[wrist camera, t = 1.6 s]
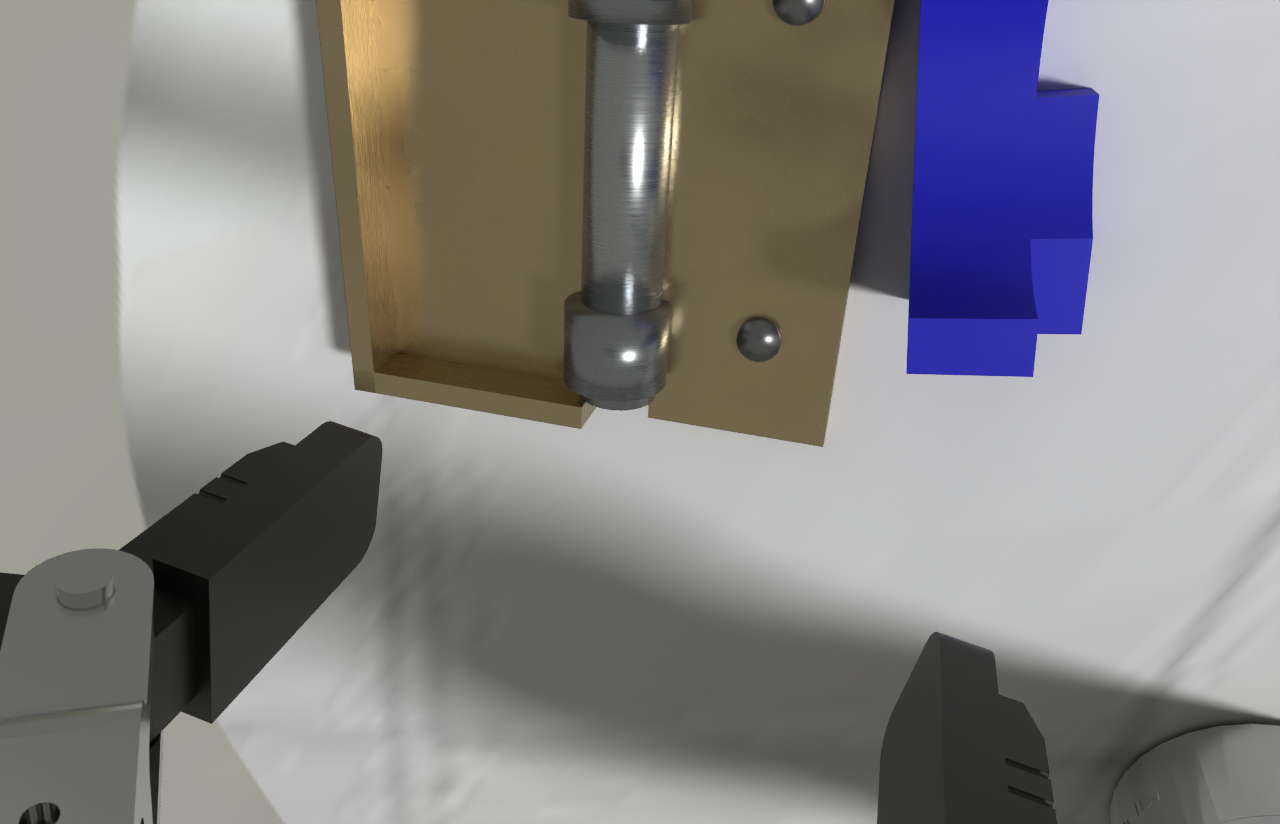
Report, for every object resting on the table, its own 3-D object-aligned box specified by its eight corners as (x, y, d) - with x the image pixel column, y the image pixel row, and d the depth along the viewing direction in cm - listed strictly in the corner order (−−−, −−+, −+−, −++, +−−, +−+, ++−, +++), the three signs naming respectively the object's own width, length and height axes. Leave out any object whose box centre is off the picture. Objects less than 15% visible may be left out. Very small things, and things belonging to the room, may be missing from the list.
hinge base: (918, -148, 24) (918, -162, 21) (825, 436, 32) (815, 486, 29) (345, -168, 27) (275, -182, 24) (388, 363, 35) (339, 401, 32)
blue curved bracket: (1066, 298, 28) (1099, 378, 23) (909, 298, 29) (906, 373, 24) (1119, -172, 23) (1177, -208, 18) (926, -148, 24) (927, -176, 19)
